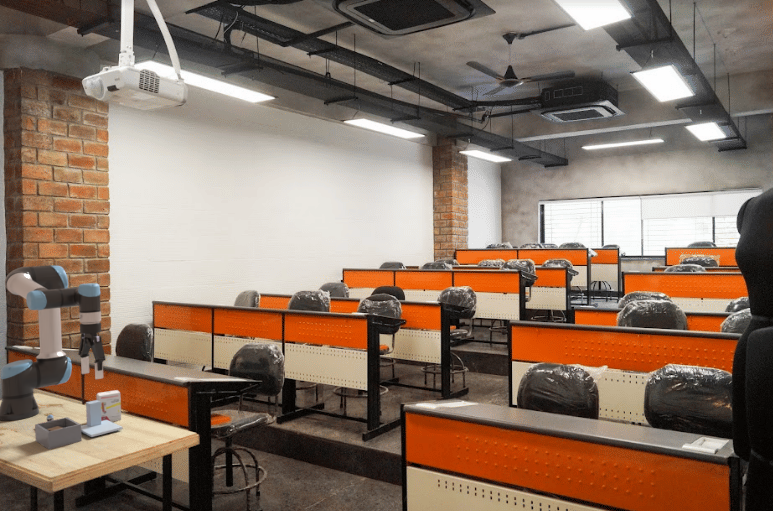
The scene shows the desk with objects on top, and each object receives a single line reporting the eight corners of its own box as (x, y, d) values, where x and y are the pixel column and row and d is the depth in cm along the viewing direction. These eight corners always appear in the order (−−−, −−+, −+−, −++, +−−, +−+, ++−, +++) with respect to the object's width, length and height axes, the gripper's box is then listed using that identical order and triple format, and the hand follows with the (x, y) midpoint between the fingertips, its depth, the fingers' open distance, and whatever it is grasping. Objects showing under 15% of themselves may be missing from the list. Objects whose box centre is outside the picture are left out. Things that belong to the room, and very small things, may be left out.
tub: (35, 443, 213) (34, 424, 213) (67, 435, 221) (66, 417, 221) (48, 451, 204) (48, 432, 203) (81, 443, 212) (80, 424, 212)
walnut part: (47, 439, 214) (46, 429, 214) (57, 436, 217) (57, 426, 217) (52, 441, 212) (52, 430, 212) (63, 438, 215) (63, 427, 215)
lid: (76, 433, 223) (75, 404, 223) (107, 425, 232) (106, 397, 232) (91, 441, 214) (90, 411, 213) (122, 433, 222) (121, 404, 222)
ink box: (99, 424, 234) (98, 395, 233) (96, 421, 238) (95, 393, 237) (121, 420, 239) (120, 392, 238) (119, 417, 243) (118, 389, 242)
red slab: (63, 430, 228) (63, 414, 228) (44, 434, 223) (43, 418, 223) (56, 426, 233) (56, 410, 233) (38, 430, 228) (37, 414, 228)
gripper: (68, 321, 230) (70, 373, 231) (93, 326, 214) (95, 382, 215) (87, 318, 236) (89, 369, 237) (113, 324, 219) (115, 378, 220)
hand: (92, 376), depth 226 cm, fingers open, 13 cm apart
